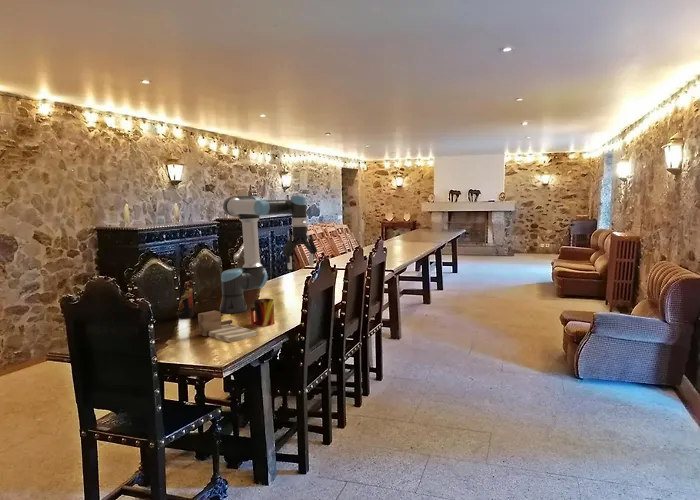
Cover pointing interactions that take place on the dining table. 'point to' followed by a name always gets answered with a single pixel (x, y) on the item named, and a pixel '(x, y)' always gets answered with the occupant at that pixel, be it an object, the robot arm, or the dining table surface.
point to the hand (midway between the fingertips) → (300, 267)
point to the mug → (263, 312)
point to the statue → (186, 302)
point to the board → (232, 333)
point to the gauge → (210, 322)
